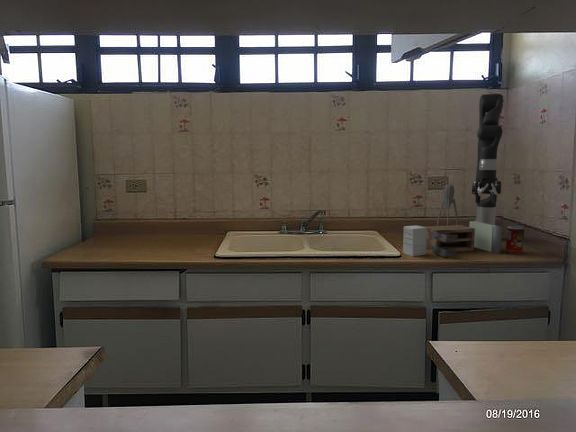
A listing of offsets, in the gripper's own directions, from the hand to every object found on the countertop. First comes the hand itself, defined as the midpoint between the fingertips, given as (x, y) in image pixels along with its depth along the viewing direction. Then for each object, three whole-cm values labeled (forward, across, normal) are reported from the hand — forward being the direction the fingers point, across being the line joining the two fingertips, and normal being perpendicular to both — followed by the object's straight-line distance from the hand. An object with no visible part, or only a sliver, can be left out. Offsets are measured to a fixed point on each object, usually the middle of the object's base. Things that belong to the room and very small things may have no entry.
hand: (485, 203), depth 211 cm
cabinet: (+22, +18, +2) cm, 29 cm away
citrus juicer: (+22, +10, -17) cm, 30 cm away
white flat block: (+22, 0, +1) cm, 22 cm away
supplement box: (+22, +38, +2) cm, 44 cm away
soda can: (+22, -8, +11) cm, 26 cm away
